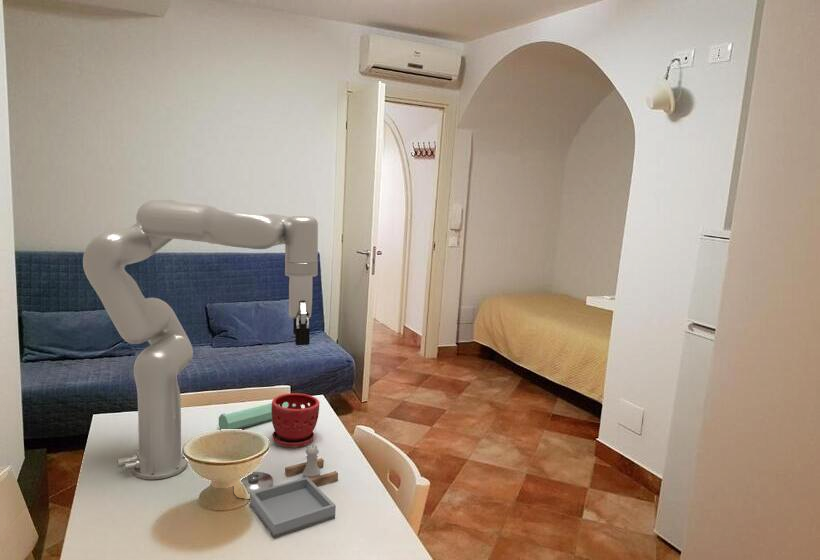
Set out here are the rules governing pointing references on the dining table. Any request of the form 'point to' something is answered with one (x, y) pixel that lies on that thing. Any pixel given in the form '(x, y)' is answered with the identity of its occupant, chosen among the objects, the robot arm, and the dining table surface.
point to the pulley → (257, 481)
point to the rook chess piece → (311, 463)
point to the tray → (292, 506)
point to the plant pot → (294, 419)
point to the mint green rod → (247, 417)
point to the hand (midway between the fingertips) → (301, 339)
